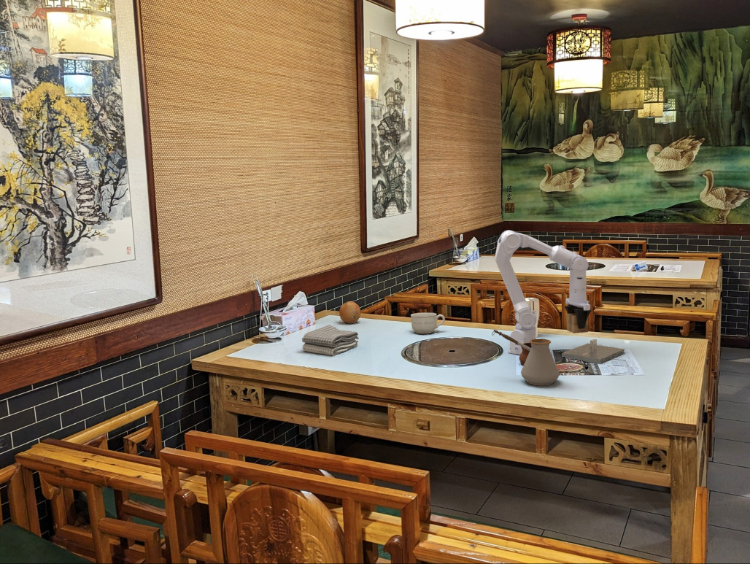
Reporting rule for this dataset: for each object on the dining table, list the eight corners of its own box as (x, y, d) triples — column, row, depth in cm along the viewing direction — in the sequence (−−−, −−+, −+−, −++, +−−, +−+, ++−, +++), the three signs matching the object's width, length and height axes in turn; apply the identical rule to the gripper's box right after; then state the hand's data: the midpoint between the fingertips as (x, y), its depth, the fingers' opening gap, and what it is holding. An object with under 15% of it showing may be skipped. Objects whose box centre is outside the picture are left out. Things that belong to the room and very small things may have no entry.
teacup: (408, 335, 276) (407, 315, 275) (414, 329, 286) (414, 311, 285) (441, 336, 272) (441, 316, 271) (446, 330, 282) (446, 311, 281)
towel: (301, 353, 252) (300, 332, 251) (329, 342, 268) (328, 323, 267) (334, 357, 244) (333, 336, 243) (361, 346, 260) (360, 326, 259)
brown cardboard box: (580, 329, 243) (581, 312, 242) (588, 332, 238) (588, 315, 237) (566, 330, 242) (567, 313, 241) (573, 333, 237) (574, 316, 236)
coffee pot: (564, 379, 207) (565, 332, 205) (552, 389, 197) (552, 339, 195) (499, 371, 218) (499, 325, 216) (485, 380, 209) (484, 332, 207)
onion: (352, 320, 310) (351, 298, 309) (365, 323, 303) (364, 301, 302) (335, 323, 304) (334, 301, 303) (348, 326, 297) (347, 304, 295)
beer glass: (541, 338, 262) (541, 300, 260) (523, 338, 262) (523, 300, 260) (537, 334, 269) (537, 297, 267) (519, 334, 269) (519, 297, 267)
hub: (599, 363, 223) (600, 347, 222) (561, 357, 233) (562, 341, 232) (624, 353, 235) (624, 337, 235) (587, 347, 245) (587, 332, 245)
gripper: (598, 291, 232) (598, 330, 233) (578, 285, 246) (578, 322, 248) (579, 292, 230) (579, 331, 232) (560, 286, 244) (560, 323, 246)
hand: (577, 326), depth 240 cm, fingers closed on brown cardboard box, 5 cm apart
